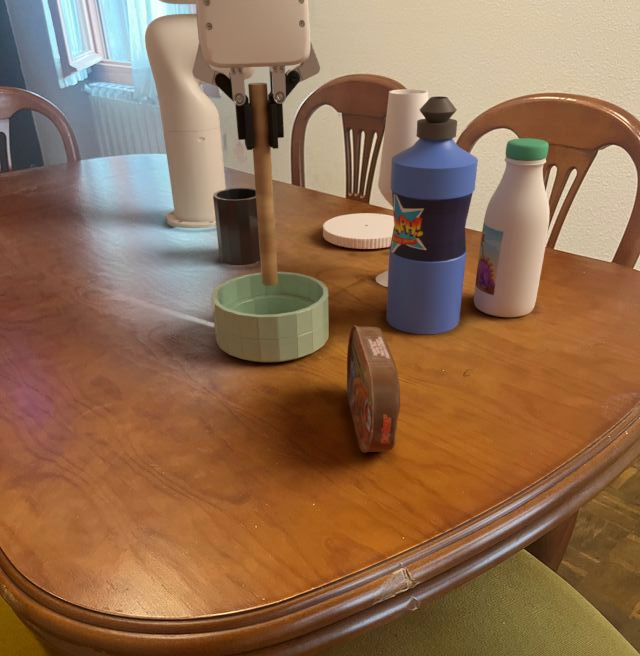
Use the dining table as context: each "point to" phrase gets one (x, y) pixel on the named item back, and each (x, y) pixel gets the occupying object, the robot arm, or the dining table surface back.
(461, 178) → the water bottle
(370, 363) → the tin
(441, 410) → the dining table surface
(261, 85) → the stick
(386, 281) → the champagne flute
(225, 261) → the holder
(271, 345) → the bowl
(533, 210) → the milk bottle
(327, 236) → the plastic lid
